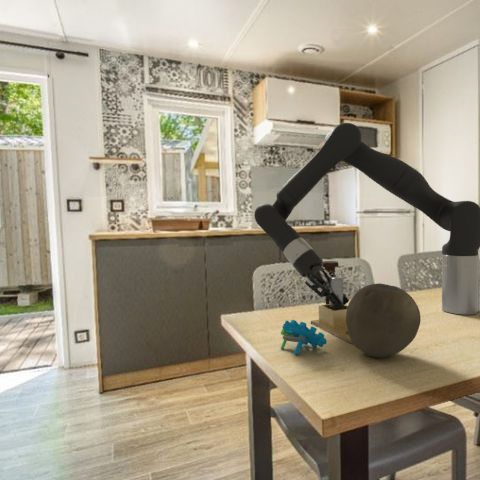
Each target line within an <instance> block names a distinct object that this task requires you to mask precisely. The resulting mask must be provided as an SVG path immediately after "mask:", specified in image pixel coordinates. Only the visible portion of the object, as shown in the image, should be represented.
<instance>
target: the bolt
mask: <svg viewBox="0 0 480 480" xmlns="http://www.w3.org/2000/svg"><path fill="white" fill-rule="evenodd" d="M321 266H322V267H323V268H324V269H325V270H326V271H327V272H330V271H331V270H332V271H333V272H334V273H335V274H336V268H339V262H338V261H336V260H323V263H322V265H321ZM324 298H325V297H324ZM324 302H325V305H326V304H329V299H328V298H325V301H324Z"/></svg>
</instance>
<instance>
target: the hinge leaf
mask: <svg viewBox="0 0 480 480" xmlns="http://www.w3.org/2000/svg"><path fill="white" fill-rule="evenodd" d="M347 307H348V304H345V305H343V309H340V310H332V309H329V304H326V303H325V304H319V305H318V319H315V320H310V324H311V325H313V326H315V327H317V328H319V329H322V330H323V331H325V332H327V333H330V334H331V335H333V336H335V337H337V338H340V339H342V340H343V341H345V342H348V343H349V344H351V345H354V344H353V343H352V341H351V339H350V337H349V333H348V329H347V325H346V312H347Z"/></svg>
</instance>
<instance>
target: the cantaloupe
mask: <svg viewBox="0 0 480 480" xmlns="http://www.w3.org/2000/svg"><path fill="white" fill-rule="evenodd" d="M347 306H348V307H347V312H346V325H347V329H348V333H349V337H350V339H351V341H352V343H353V344H352V345H354V347H356V348H357V350H360V351H361V352H363V353H364V354H365V355H367V356H370V357H372V358H377V359H379V358H380V359H381V358H387V357H391V356H392V357H393V356H395V355H396V354H399V353H400V352H402V351H404V350H405V349H406V348H407V347H408V346H409V345H410V344H411V343H412V342H413V341H414V340H415V338H416V336H417V334H418V331H419V328H420V325H421V311H420V309H419V306H418V305H417V303H416V301H415V300H414V298H413V297H412V296H411V294H409V293H408V292H406V291H405V290H404V289H402V288H401V287H398V286H395V285H390V284H385V283H379V282H378V283H371V284H369V285H366V286H363V287H362V288H359V290H358V291H357V292H355V294H354V295H353V296H352V298H350V299H349V302H348V303H347Z"/></svg>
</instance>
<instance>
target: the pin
mask: <svg viewBox="0 0 480 480" xmlns="http://www.w3.org/2000/svg"><path fill="white" fill-rule="evenodd" d="M329 286H330V288H331V289H332V291H333V293H335V294H336V295H337V296H338V298H339V299H340V300H341V301H342V302H343V293H344V277H342V276H337V277H329ZM329 309H332V310H340V309H343V304H342V305H341V306H340V307H339V308H336V307H335V306H334V305H333V304H332V303H331V302H330V300H329Z"/></svg>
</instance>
